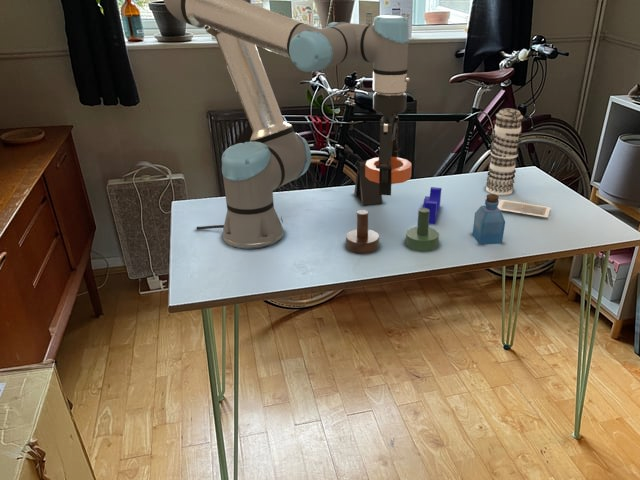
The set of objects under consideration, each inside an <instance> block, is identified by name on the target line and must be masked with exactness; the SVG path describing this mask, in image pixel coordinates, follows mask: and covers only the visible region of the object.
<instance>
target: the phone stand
mask: <svg viewBox="0 0 640 480" xmlns="http://www.w3.org/2000/svg"><path fill="white" fill-rule="evenodd" d="M368 160H369V159H367V160H365V159H364V160H358V161H357V163H356V168H357V169H356V177H355V185H354V192H353V195H354V197H355V198H356V199H357V200H358V201H359V203H360V204H361V205H362V206H371V205H379V204H383V195H379V183H376V182H373V181H370V180H368V179H367V178H366V177H365V164H366V162H367V161H368Z"/></svg>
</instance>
